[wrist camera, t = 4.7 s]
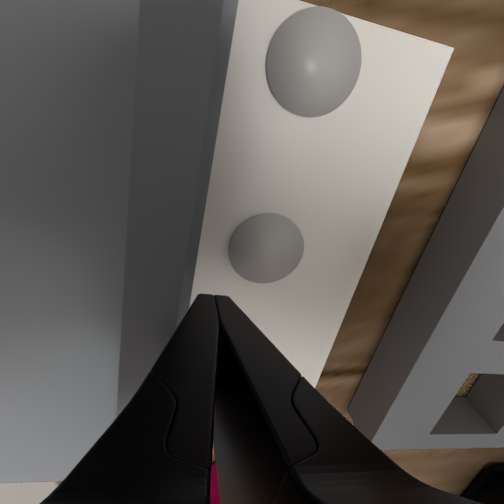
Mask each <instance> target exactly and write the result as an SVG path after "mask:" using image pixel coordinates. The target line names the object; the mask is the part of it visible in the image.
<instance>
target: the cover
mask: <svg viewBox="0 0 504 504" xmlns="http://www.w3.org/2000/svg"><path fill="white" fill-rule="evenodd" d="M238 1H239V0H0V483H23V482H48V481H49V482H50V481H63V480H64V479H65V478H66V477H67V475H68V474H69V473H70V472H71V471H72V470H73V468H74V467H75V466H76V465H77V464H78V463H79V461H80V460H81V459H82V458H83V457H84V455H85V454H86V453H87V452H88V451H89V450H90V448H91V447H92V446H93V445H94V444H95V442H96V441H97V440H98V439H99V438H100V437H101V435H102V434H103V433H104V432H105V431H106V430H107V428H108V427H109V426H110V425H111V424H112V422H113V421H114V420H115V419H116V418H117V416H118V415H119V414H120V413H121V411H122V410H123V409H124V407H125V406H126V405H127V404H128V402H129V401H130V400H131V398H132V397H133V395H134V394H135V392H136V391H137V390H138V388H139V387H140V385H141V384H142V382H143V381H144V379H145V377H146V376H147V374H148V373H149V372H150V370H151V368H152V367H153V365H154V363H155V362H156V360H157V359H158V357H159V355H160V354H161V352H162V351H163V349H164V348H165V346H166V344H167V343H168V341H169V340H170V338H171V336H172V335H173V333H174V332H175V330H176V328H177V327H178V325H179V324H180V322H181V320H182V319H183V317H184V316H185V314H186V313H187V311H188V309H189V305H190V299H191V293H192V287H193V281H194V274H195V268H196V262H197V256H198V250H199V243H200V237H201V231H202V225H203V218H204V212H205V206H206V200H207V194H208V187H209V181H210V175H211V169H212V163H213V156H214V150H215V144H216V138H217V131H218V125H219V119H220V113H221V107H222V100H223V94H224V88H225V82H226V76H227V69H228V63H229V57H230V51H231V44H232V38H233V32H234V26H235V20H236V13H237V7H238Z"/></svg>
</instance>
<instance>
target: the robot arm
mask: <svg viewBox="0 0 504 504" xmlns="http://www.w3.org/2000/svg"><path fill="white" fill-rule="evenodd" d="M213 442H214V451H215V460H216V468H217V477H218V486H219V494H220V503H221V504H504V465H492V466H489V467H487V468H486V469H485V470H484V471H483V473H482V474H481V475H480V476H479V477H478V479H477V480H476V481H475V482H474V483H473V485H472V486H471V487H470V488H469V489H468V491H467V492H466V493H465V494H464V495H463V497H460V496H457V495H454V494H451V493H448V492H445V491H442V490H439V489H436V488H434V487H431V486H429V485H427V484H425V483H423V482H421V481H419V480H418V479H416V478H414V477H413V476H411V475H410V474H408V473H407V472H406V471H404V470H403V469H402V468H400V467H399V466H398V465H397V464H396V463H394V462H393V461H392V460H391V459H390V458H389V457H388V456H387V455H386V454H384V453H383V452H382V451H381V450H380V449H379V448H378V447H377V446H376V445H374V444H373V443H372V442H371V441H370V440H369V439H368V438H367V437H366V436H364V435H363V434H362V433H361V432H360V431H359V430H358V429H357V428H356V427H354V426H353V425H352V424H351V423H350V422H349V421H348V420H347V419H346V418H345V417H343V416H342V415H341V414H340V413H339V412H338V411H337V410H336V409H335V408H334V407H333V406H332V405H331V404H330V403H329V402H328V401H327V400H326V399H325V398H324V397H323V396H322V395H321V394H320V393H319V392H318V391H317V390H316V389H315V388H314V387H313V386H312V385H311V384H310V383H309V382H308V381H307V380H306V379H305V377H303V376H302V377H301V373H300V372H299V371H298V370H297V369H296V368H295V367H294V366H293V365H292V364H291V363H290V361H289V360H288V359H287V358H286V357H285V356H284V355H283V354H282V353H281V352H280V351H279V350H278V349H277V348H276V346H275V345H274V344H273V343H272V342H271V341H270V340H269V339H268V338H267V337H266V336H265V335H264V334H263V332H262V331H261V330H260V329H259V328H258V327H257V326H256V325H255V324H254V323H253V322H252V321H251V320H250V318H249V317H248V316H247V315H246V314H245V313H244V312H243V311H242V310H241V309H240V308H239V307H238V306H237V304H236V303H235V302H234V301H233V300H232V299H231V298H230V297H229V296H226V295H212V294H202V293H200V294H198V295H197V297H196V298H195V300H194V301H193V303H192V305H191V306H190V308H189V309H188V311H187V313H186V314H185V316H184V317H183V319H182V320H181V322H180V324H179V325H178V327H177V328H176V330H175V332H174V333H173V335H172V336H171V338H170V340H169V341H168V343H167V344H166V346H165V348H164V349H163V351H162V352H161V354H160V355H159V357H158V359H157V360H156V362H155V363H154V365H153V367H152V368H151V370H150V372H149V373H148V374H147V376H146V377H145V379H144V381H143V382H142V384H141V385H140V387H139V388H138V390H137V391H136V392H135V394H134V395H133V397H132V398H131V400H130V401H129V402H128V404H127V405H126V406H125V407H124V409H123V410H122V411H121V413H120V414H119V415H118V416H117V418H116V419H115V420H114V421H113V422H112V424H111V425H110V426H109V427H108V428H107V430H106V431H105V432H104V433H103V434H102V435H101V437H100V438H99V439H98V440H97V441H96V442H95V444H94V445H93V446H92V447H91V448H90V450H89V451H88V452H87V453H86V454H85V455H84V457H83V458H82V459H81V460H80V461H79V463H78V464H77V465H76V466H75V467H74V468H73V470H72V471H71V472H70V473H69V474H68V475H67V477H66V478H65V479H64V480H63V481H62V482H61V483H60V484H59V486H58V487H57V488H56V489H55V490H54V491H53V492H52V493H51V494H50V495H49V496H48V497H47V498H46V499H44V500H43V501H42V502H41V503H40V504H210V485H211V467H212V449H213Z"/></svg>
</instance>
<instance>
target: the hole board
mask: <svg viewBox="0 0 504 504" xmlns="http://www.w3.org/2000/svg"><path fill="white" fill-rule="evenodd" d="M470 373H482V374H481V375H480V377H479V378H478V380H477V381H476V382H475V384H474V385H473V387H472V388H471V390H470V391H469V393H468V394H467V396H466V397H457V396H455V395H456V394H457V392H458V391H459V389H460V388H461V386H462V385H463V383H464V382H465V380H466V379H467V377H468V376H469V374H470ZM348 411H349V414H350V416H351V418H352V420H353V422H354V425H355V427H356V428H357V429H358V430H359V431H360V432H361V433H362V434H363V435H364V436H366V437H367V438H368V439H369V440H370V441H371V442H372V443H373V444H374V445H376V446H377V447H378V448H379V449H380V450H411V449H457V448H504V87H503V89H502V91H501V94H500V96H499V98H498V100H497V102H496V104H495V106H494V108H493V110H492V112H491V114H490V116H489V118H488V120H487V122H486V124H485V127H484V129H483V131H482V133H481V135H480V137H479V139H478V141H477V143H476V145H475V147H474V149H473V151H472V153H471V155H470V157H469V160H468V162H467V164H466V166H465V168H464V170H463V172H462V174H461V176H460V178H459V180H458V182H457V184H456V186H455V188H454V190H453V193H452V195H451V197H450V199H449V201H448V203H447V205H446V207H445V209H444V211H443V213H442V215H441V217H440V219H439V221H438V223H437V226H436V228H435V230H434V232H433V234H432V236H431V238H430V240H429V242H428V244H427V246H426V248H425V250H424V252H423V254H422V256H421V259H420V261H419V263H418V265H417V267H416V269H415V271H414V273H413V275H412V277H411V279H410V281H409V283H408V285H407V287H406V289H405V291H404V294H403V296H402V298H401V300H400V302H399V304H398V306H397V308H396V310H395V312H394V314H393V316H392V318H391V320H390V322H389V324H388V327H387V329H386V331H385V333H384V335H383V337H382V339H381V341H380V343H379V345H378V347H377V349H376V351H375V353H374V355H373V357H372V360H371V362H370V364H369V366H368V368H367V370H366V372H365V374H364V376H363V378H362V380H361V382H360V384H359V386H358V388H357V390H356V393H355V395H354V397H353V399H352V401H351V403H350V405H349V407H348Z"/></svg>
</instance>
